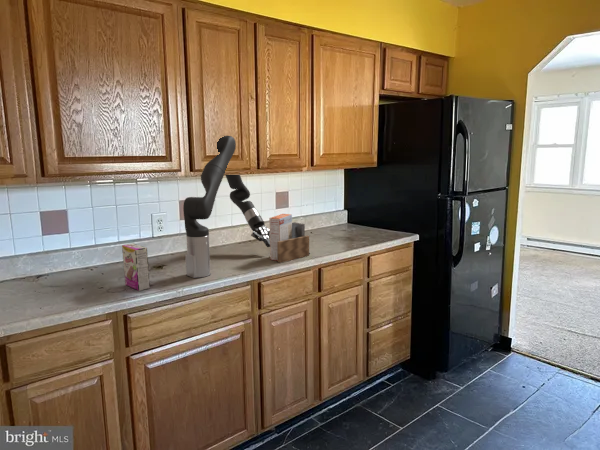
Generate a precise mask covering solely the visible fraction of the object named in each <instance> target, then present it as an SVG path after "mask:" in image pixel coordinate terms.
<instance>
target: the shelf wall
mask: <svg viewBox="0 0 600 450" xmlns="http://www.w3.org/2000/svg"><path fill="white" fill-rule="evenodd" d="M277 253H278V261H277V263H279V264H281V263H284V262H285V263H286V262H289V261H292V260H296V259H301V258H304V257H309V256H310V254H309V253H310V235H305V236H302V237H298V238H293V239H288V240H283V241H278V242H277Z"/></svg>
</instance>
